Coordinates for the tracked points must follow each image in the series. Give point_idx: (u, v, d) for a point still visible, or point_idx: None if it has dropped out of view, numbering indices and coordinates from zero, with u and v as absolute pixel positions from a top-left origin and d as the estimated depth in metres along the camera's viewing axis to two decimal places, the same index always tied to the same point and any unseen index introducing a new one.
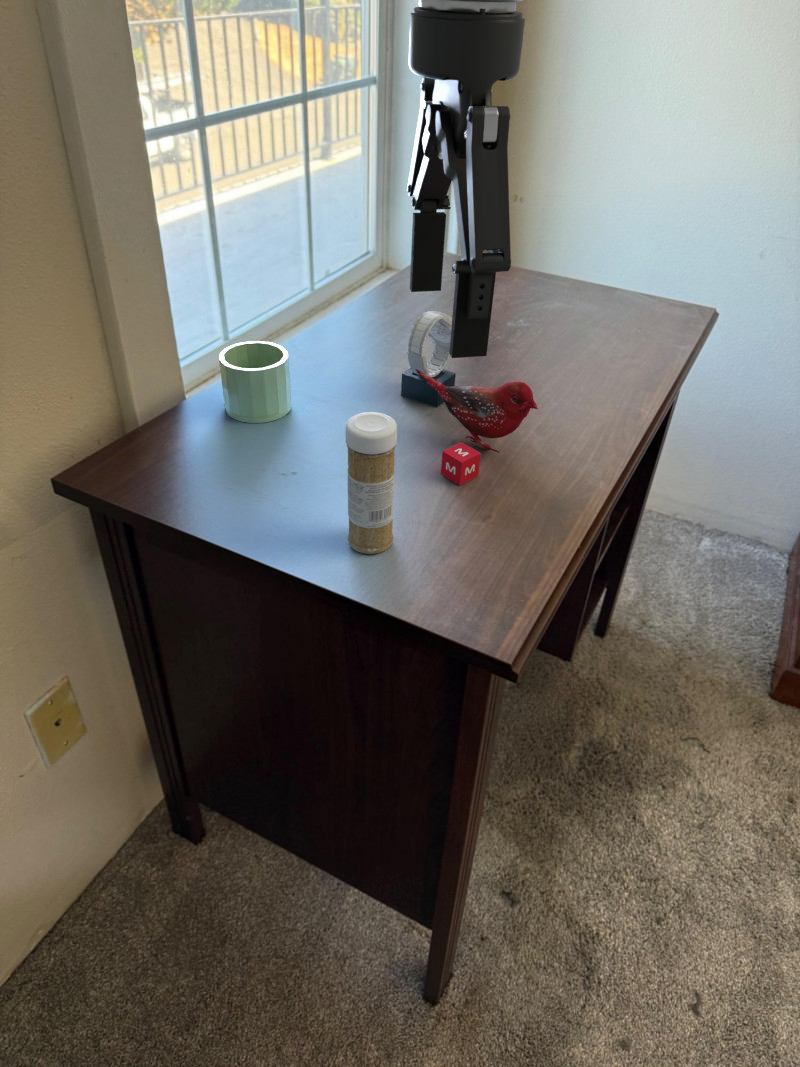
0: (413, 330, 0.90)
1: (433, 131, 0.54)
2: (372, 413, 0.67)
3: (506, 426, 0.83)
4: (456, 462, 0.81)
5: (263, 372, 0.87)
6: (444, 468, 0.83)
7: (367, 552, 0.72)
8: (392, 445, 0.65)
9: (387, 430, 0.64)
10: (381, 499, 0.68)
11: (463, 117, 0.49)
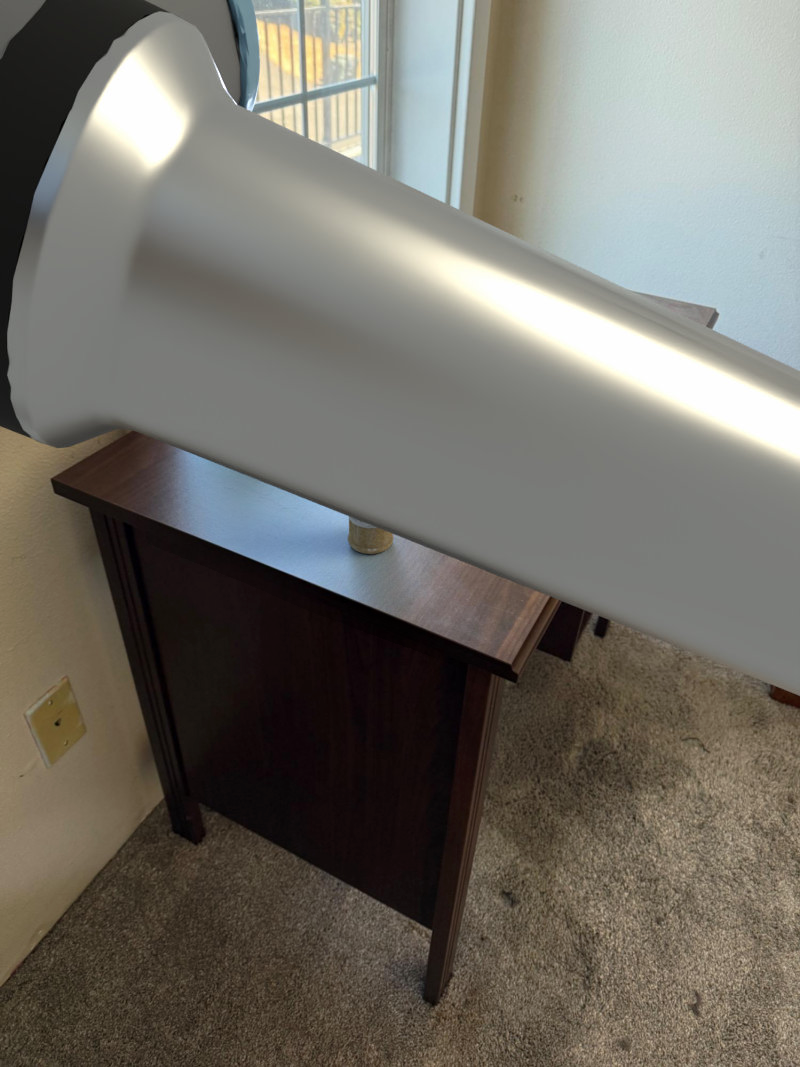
0: None
1: None
2: None
3: None
4: None
5: None
6: None
7: (367, 552, 0.72)
8: None
9: None
10: None
11: None
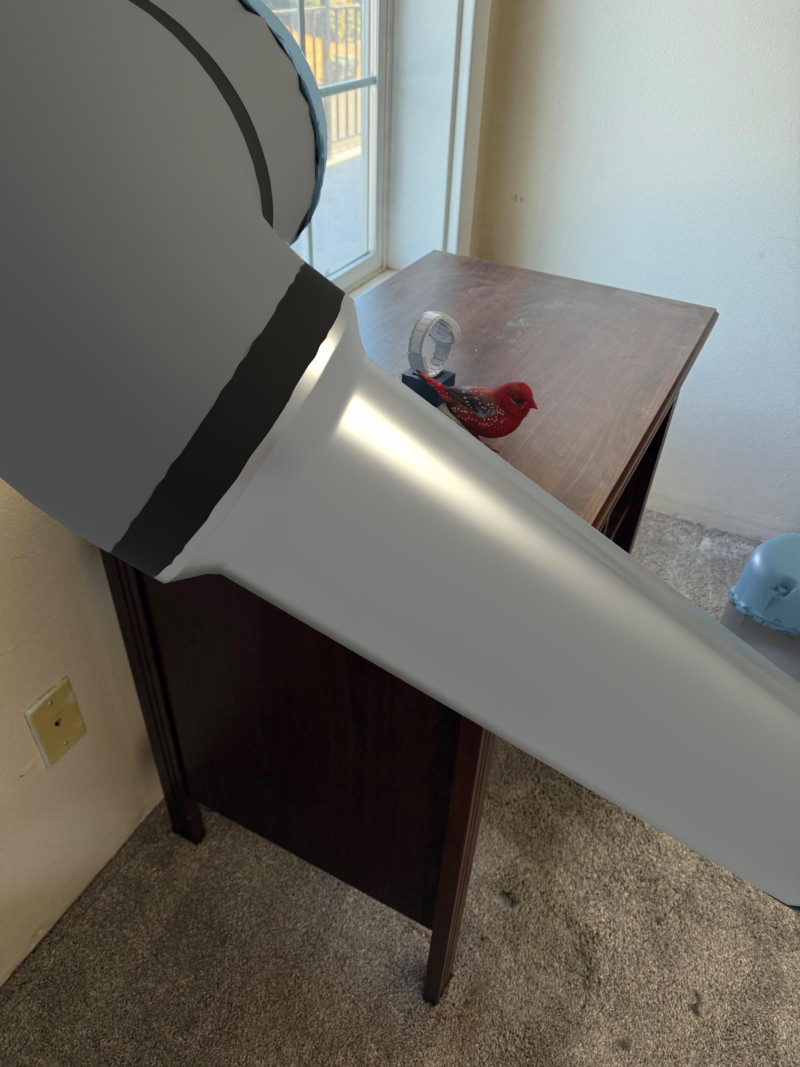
0: (413, 330, 0.90)
1: None
2: None
3: (506, 426, 0.83)
4: None
5: None
6: None
7: None
8: None
9: None
10: None
11: None
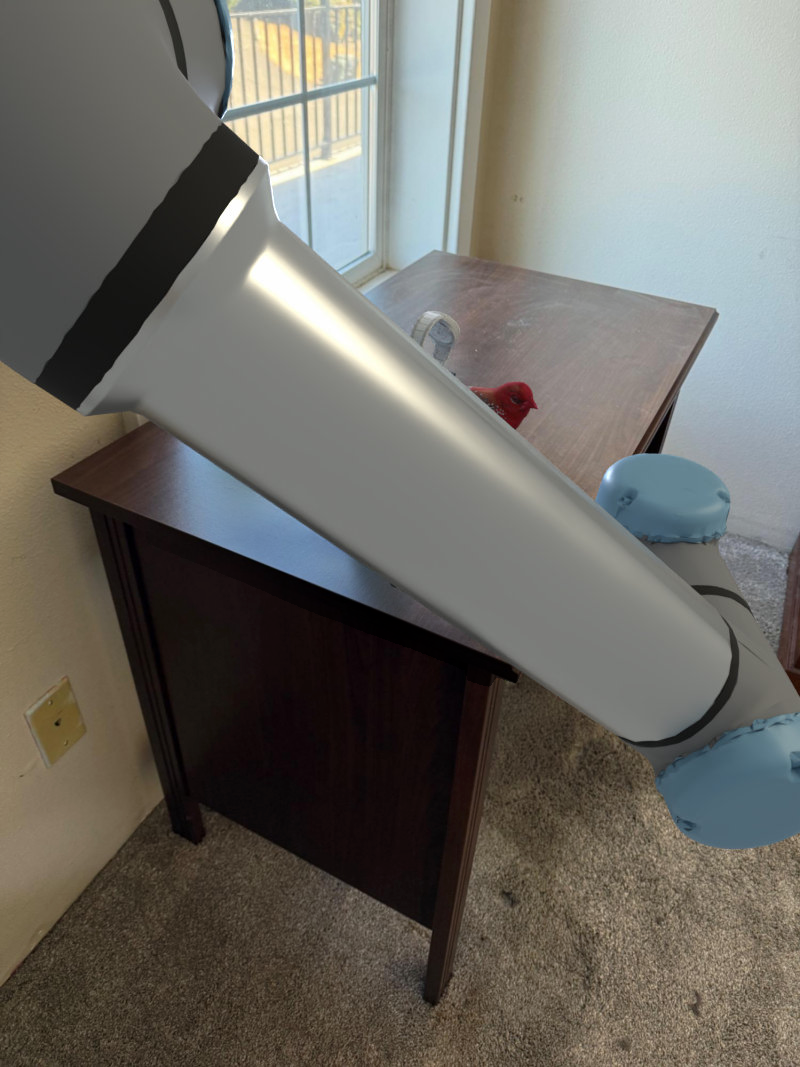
0: (413, 330, 0.90)
1: None
2: None
3: None
4: None
5: None
6: None
7: None
8: None
9: None
10: None
11: None
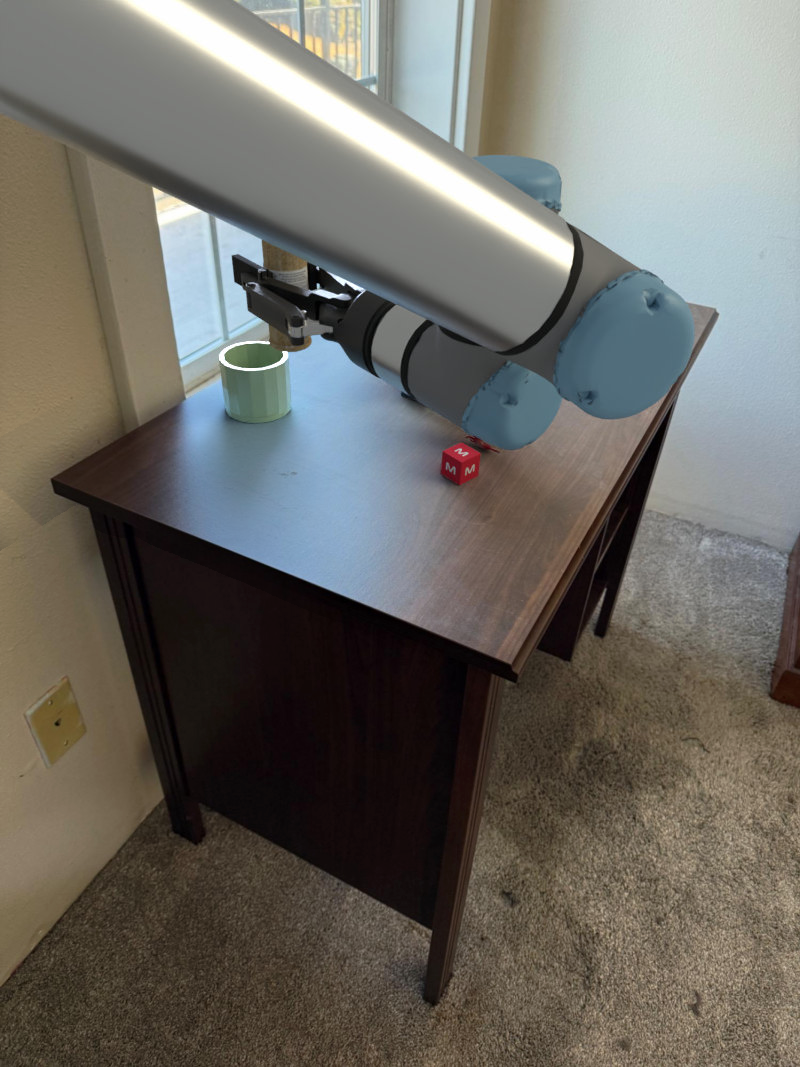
0: None
1: (356, 293, 0.67)
2: None
3: None
4: (456, 462, 0.81)
5: (263, 372, 0.87)
6: (444, 468, 0.83)
7: (285, 349, 0.76)
8: None
9: None
10: None
11: (323, 318, 0.64)
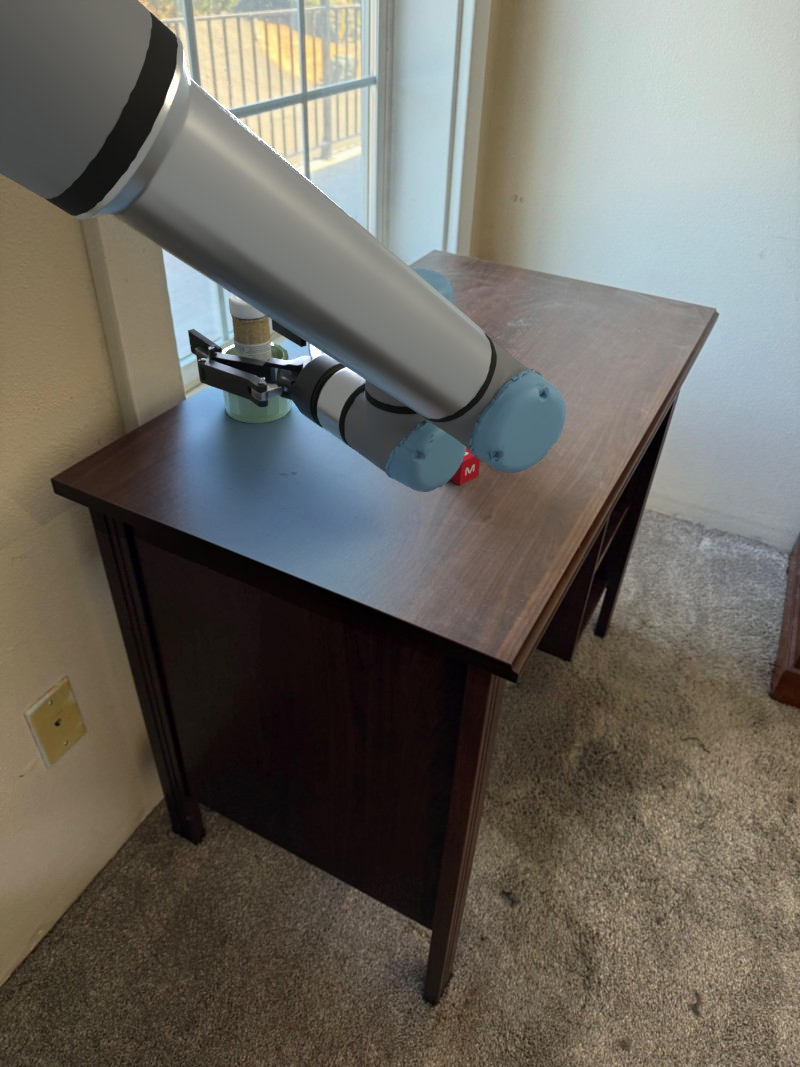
0: None
1: None
2: None
3: None
4: None
5: None
6: None
7: None
8: None
9: None
10: (259, 359, 0.88)
11: (279, 380, 0.79)
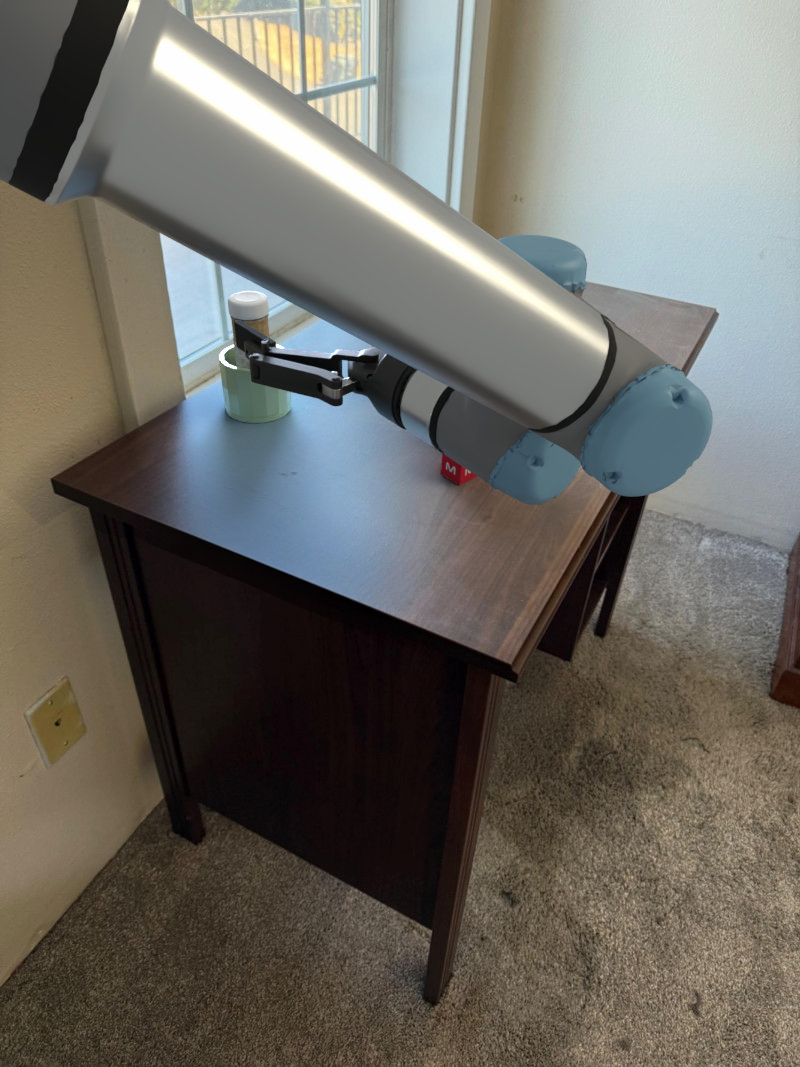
0: None
1: None
2: (250, 291, 0.86)
3: None
4: (456, 462, 0.81)
5: None
6: (444, 468, 0.83)
7: None
8: (263, 314, 0.85)
9: (258, 301, 0.84)
10: None
11: (353, 373, 0.67)
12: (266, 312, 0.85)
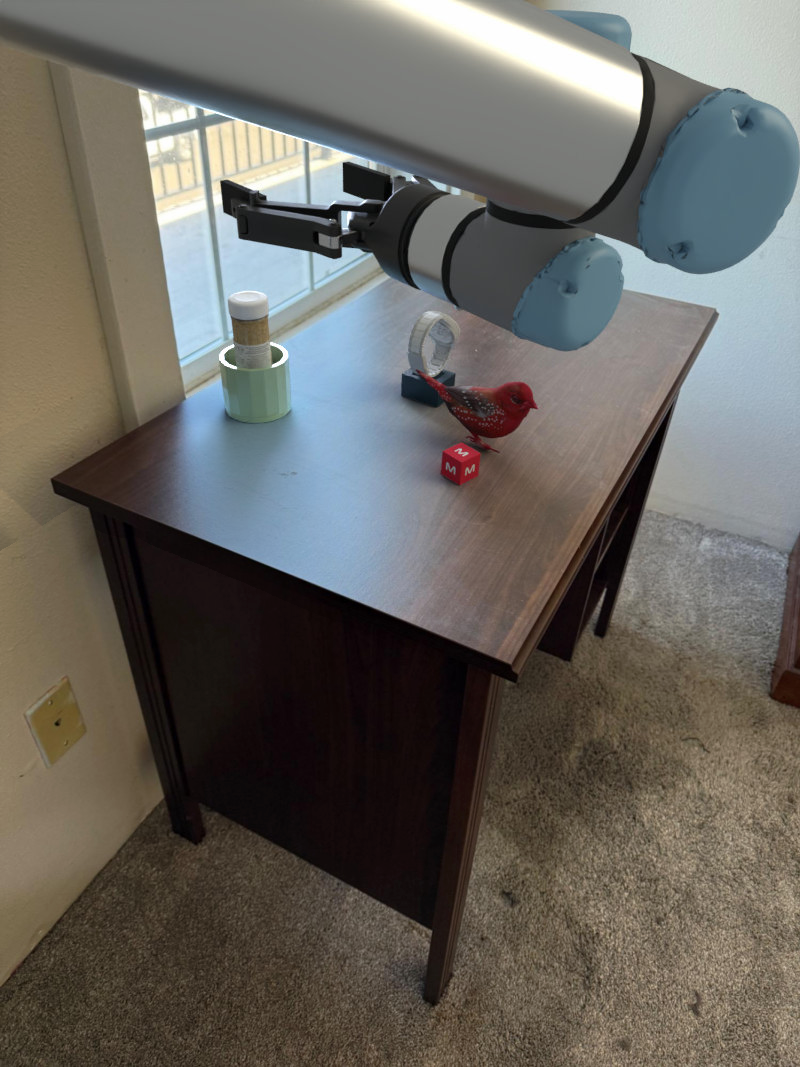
0: (413, 330, 0.90)
1: None
2: (250, 291, 0.86)
3: (506, 426, 0.83)
4: (456, 462, 0.81)
5: (263, 372, 0.87)
6: (444, 468, 0.83)
7: None
8: (263, 314, 0.85)
9: (258, 301, 0.84)
10: (259, 360, 0.88)
11: (354, 222, 0.59)
12: (266, 312, 0.85)
